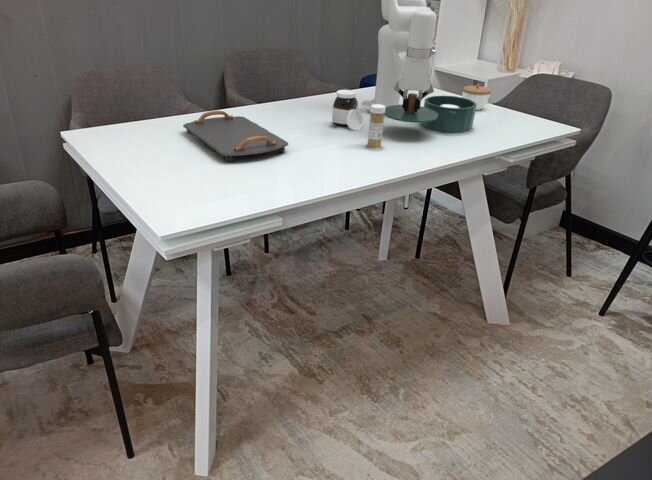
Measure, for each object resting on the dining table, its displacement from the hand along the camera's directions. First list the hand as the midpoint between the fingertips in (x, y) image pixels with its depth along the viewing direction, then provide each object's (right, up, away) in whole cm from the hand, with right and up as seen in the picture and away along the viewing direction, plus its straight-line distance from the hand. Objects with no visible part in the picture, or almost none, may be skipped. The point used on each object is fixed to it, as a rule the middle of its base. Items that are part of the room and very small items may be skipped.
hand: (410, 110), depth 184 cm
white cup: (+16, -2, +14) cm, 21 cm away
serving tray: (-59, -12, -6) cm, 60 cm away
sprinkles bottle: (-13, -14, -7) cm, 21 cm away
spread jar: (-20, -3, +12) cm, 23 cm away
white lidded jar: (+33, +11, +37) cm, 51 cm away
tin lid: (0, -1, +1) cm, 1 cm away
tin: (+16, -2, +14) cm, 21 cm away
